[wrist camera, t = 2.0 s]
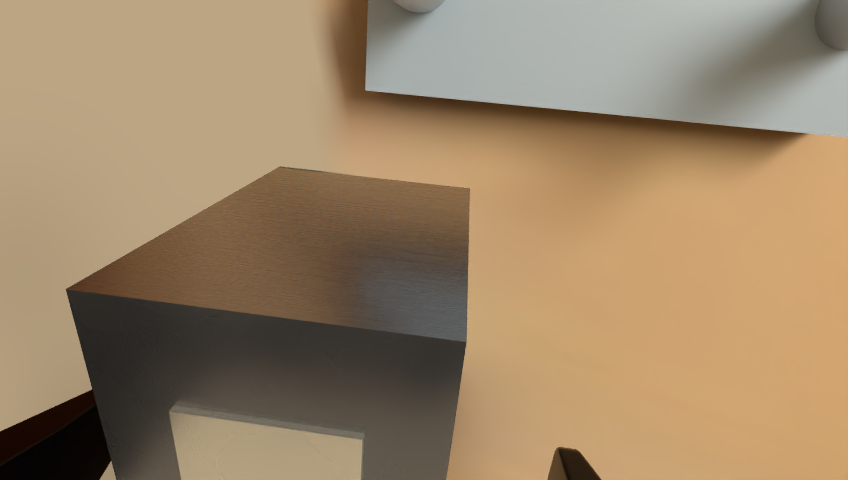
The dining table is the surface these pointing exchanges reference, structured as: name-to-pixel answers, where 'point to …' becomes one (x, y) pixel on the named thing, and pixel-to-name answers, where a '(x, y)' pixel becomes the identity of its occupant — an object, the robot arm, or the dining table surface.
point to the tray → (623, 57)
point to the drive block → (286, 334)
